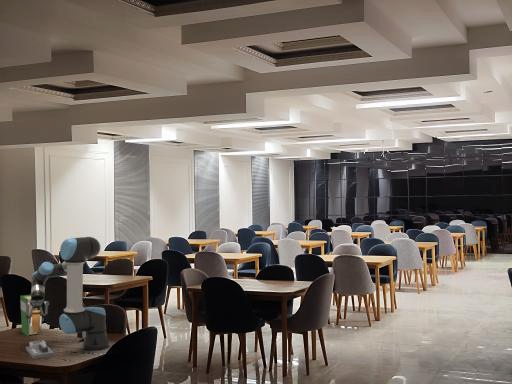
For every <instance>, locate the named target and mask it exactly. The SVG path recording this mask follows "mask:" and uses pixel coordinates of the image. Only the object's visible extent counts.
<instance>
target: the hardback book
mask: <svg viewBox="0 0 512 384" xmlns="http://www.w3.org/2000/svg"><path fill="white" fill-rule="evenodd" d="M19 301H20V319H21V321H20V323H21V325H20V326H21V333H22V334H24V335H25V336H26V337H29V336H30V335H31V336H32V335H36V336H38V335H40V332H33V326H32V329H31V327H30V325H31V323H29V318H28V319H27V318H26V305H25V303H26V302H27V303H29V302H30V301H31V294H26V295H25V294H24V295H20V299H19ZM31 309H32V306H31V304H30V306H29V315H30V312H31ZM35 310H39V308H35Z"/></svg>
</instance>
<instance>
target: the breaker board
mask: <svg viewBox="0 0 512 384" xmlns="http://www.w3.org/2000/svg"><path fill="white" fill-rule="evenodd" d="M28 343H29V346H25V351H26V352H27V353H28V355H29V356H30V357H31V358H32V359H33V360H38V359H43V358H49V357H55V352H54V351H53V350H52V349H51V347H49V346H48V345H47V342H46V341H45V340H43V339H41V340H35V341H29V342H28Z"/></svg>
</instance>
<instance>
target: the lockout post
mask: <svg viewBox="0 0 512 384" xmlns="http://www.w3.org/2000/svg"><path fill="white" fill-rule="evenodd" d="M40 316H41V312H40V309H38V310H34V311H32V321H33V332H39V333H40V332H42V328H40Z"/></svg>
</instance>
